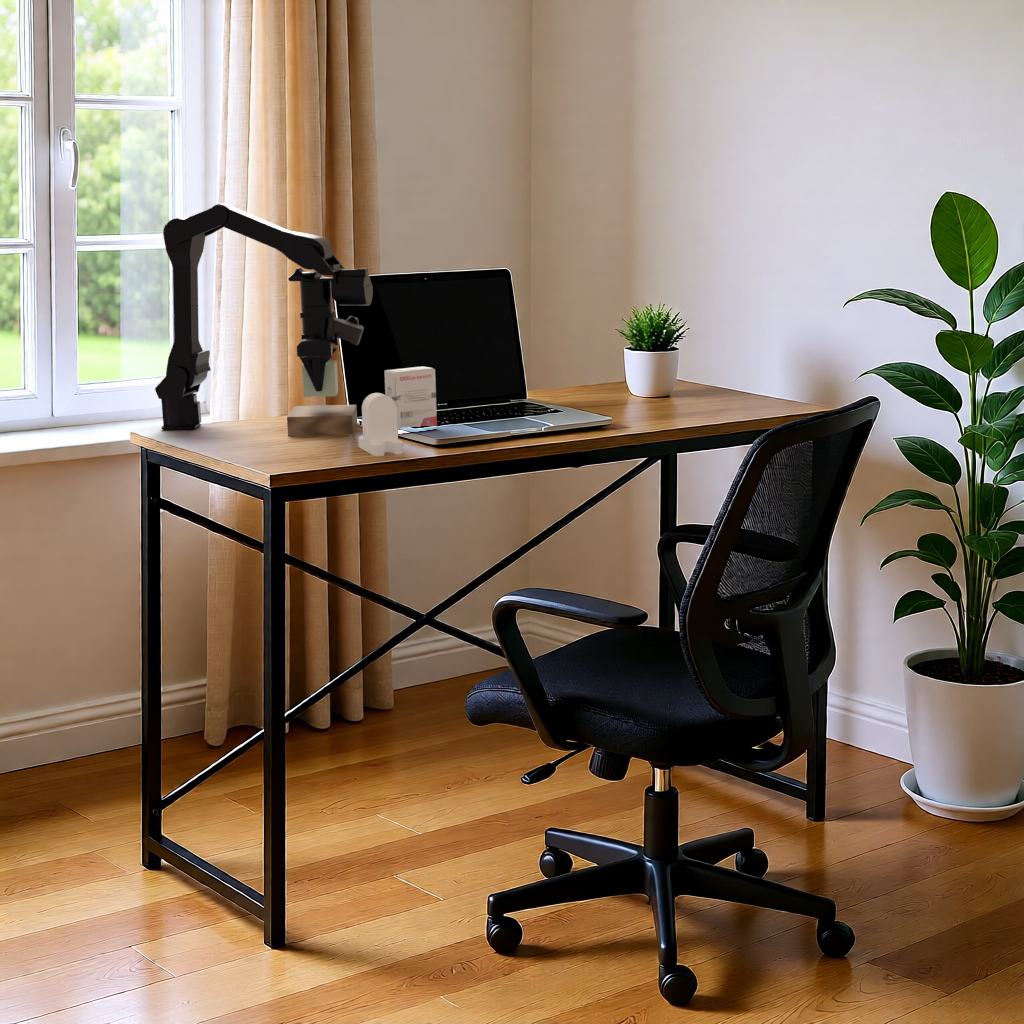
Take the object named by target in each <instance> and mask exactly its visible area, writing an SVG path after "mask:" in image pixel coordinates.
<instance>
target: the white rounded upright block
mask: <svg viewBox="0 0 1024 1024" xmlns="http://www.w3.org/2000/svg"><path fill="white" fill-rule="evenodd" d="M361 415H362V417H361V420H362V435H359V436H358V438H357V439H358V448H360V449H361V450H363V451H365V452H366V453H368V454H371V455H372V456H374V457H383V456H384V457H385V453H390V454H391V453H392V454H394V455H402V454H404V442H403V441H401V440H400V439H399V435H398V425H397V407H396V404H395V402H394V401H393V399H392V398H390V397H388V396H386V395H385V394H384V393H380V392H374V393H370V394H368V395H367V396H366V397H365V398H364V399H363V402H362V404H361Z"/></svg>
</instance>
